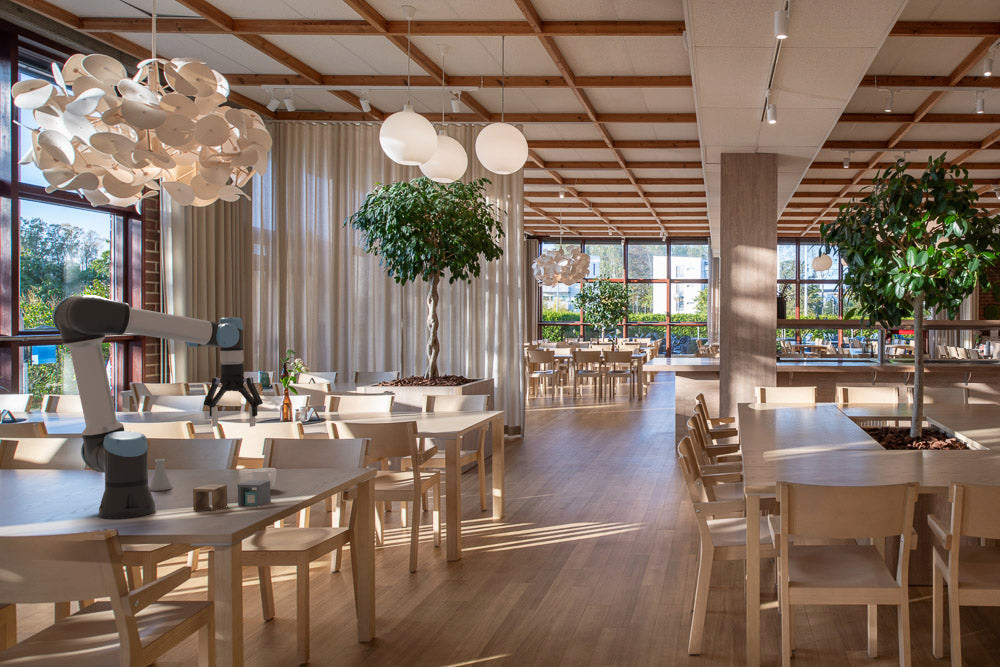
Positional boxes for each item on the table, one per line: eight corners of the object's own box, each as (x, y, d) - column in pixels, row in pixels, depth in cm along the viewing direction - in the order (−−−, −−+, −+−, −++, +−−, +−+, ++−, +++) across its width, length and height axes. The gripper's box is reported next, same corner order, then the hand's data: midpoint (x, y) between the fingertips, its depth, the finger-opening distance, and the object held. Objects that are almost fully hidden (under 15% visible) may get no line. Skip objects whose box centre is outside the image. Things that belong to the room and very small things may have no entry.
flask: (164, 491, 288) (163, 461, 288) (144, 491, 289) (143, 461, 289) (176, 487, 295) (175, 458, 295) (157, 487, 296) (156, 457, 296)
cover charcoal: (259, 506, 261) (258, 485, 261) (238, 506, 263) (237, 484, 263) (270, 501, 268) (270, 480, 268) (249, 501, 270) (249, 480, 270)
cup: (271, 486, 293) (271, 466, 293) (282, 491, 285) (282, 470, 285) (248, 489, 288) (248, 469, 288) (259, 494, 280) (259, 473, 280)
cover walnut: (214, 511, 256) (214, 489, 256) (193, 510, 257) (193, 488, 257) (227, 506, 263) (227, 484, 263) (206, 505, 264) (206, 484, 264)
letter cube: (257, 505, 263) (256, 492, 263) (245, 505, 264) (244, 491, 264) (263, 503, 267) (263, 489, 267) (251, 502, 268) (251, 489, 268)
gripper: (271, 362, 295) (273, 424, 295) (203, 363, 299) (205, 424, 300) (261, 363, 287) (263, 427, 288) (192, 364, 292) (193, 427, 292)
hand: (233, 426), depth 294 cm, fingers open, 13 cm apart
